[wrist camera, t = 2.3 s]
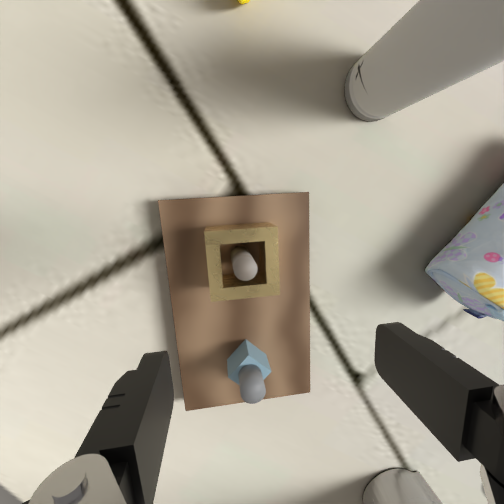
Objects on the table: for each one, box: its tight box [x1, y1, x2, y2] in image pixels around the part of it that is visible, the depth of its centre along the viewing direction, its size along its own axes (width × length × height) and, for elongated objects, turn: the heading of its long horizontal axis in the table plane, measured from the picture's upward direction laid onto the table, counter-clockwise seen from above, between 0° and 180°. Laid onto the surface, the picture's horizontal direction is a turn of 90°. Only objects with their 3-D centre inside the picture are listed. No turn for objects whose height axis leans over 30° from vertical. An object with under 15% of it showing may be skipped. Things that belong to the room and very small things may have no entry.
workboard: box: [158, 192, 310, 411], centre depth 26 cm, size 15×24×8 cm, turn 3°
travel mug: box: [345, 0, 504, 121], centre depth 17 cm, size 6×7×20 cm
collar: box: [204, 222, 280, 302], centre depth 25 cm, size 6×6×4 cm
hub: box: [227, 339, 272, 404], centre depth 26 cm, size 3×3×6 cm
